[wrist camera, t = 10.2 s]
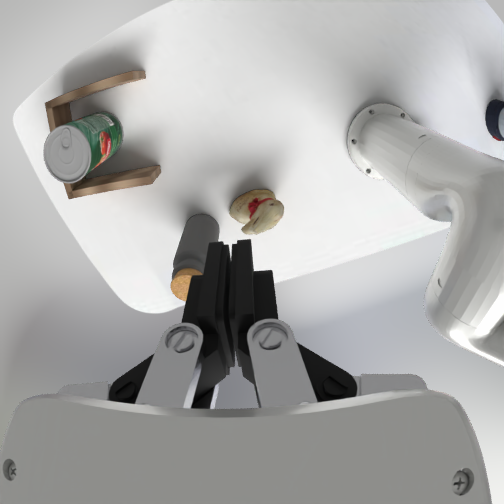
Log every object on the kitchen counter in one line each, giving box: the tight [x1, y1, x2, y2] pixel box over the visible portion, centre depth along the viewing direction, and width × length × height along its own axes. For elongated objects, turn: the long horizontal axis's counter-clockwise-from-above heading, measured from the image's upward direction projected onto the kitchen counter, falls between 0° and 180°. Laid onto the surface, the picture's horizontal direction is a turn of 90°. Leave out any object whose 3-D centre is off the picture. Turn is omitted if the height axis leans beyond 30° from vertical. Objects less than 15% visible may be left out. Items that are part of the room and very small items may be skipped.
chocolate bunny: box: [229, 189, 284, 235], centre depth 41 cm, size 6×8×10 cm
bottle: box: [171, 214, 219, 301], centre depth 41 cm, size 6×6×15 cm
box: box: [45, 71, 161, 199], centre depth 35 cm, size 15×16×5 cm
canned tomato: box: [44, 112, 123, 183], centre depth 32 cm, size 8×8×11 cm
